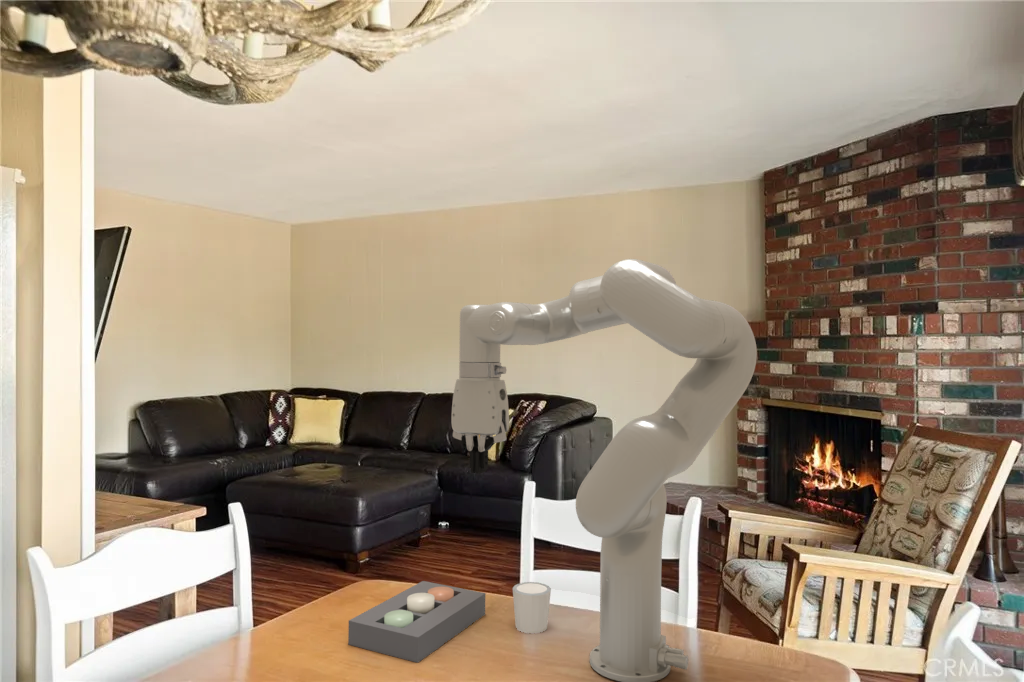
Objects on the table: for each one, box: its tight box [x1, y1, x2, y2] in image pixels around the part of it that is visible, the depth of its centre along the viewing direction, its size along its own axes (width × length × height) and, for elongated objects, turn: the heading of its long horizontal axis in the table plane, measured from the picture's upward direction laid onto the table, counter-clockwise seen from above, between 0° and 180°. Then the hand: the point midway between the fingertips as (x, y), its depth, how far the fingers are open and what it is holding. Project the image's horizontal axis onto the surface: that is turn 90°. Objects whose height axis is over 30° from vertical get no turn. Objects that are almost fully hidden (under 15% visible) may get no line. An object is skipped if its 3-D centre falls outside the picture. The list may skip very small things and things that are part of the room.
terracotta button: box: [428, 587, 454, 602], centre depth 127 cm, size 5×5×3 cm
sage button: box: [384, 610, 413, 628], centre depth 116 cm, size 5×5×3 cm
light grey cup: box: [512, 581, 552, 635], centre depth 123 cm, size 7×7×7 cm
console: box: [347, 580, 486, 664], centre depth 121 cm, size 14×22×4 cm, turn 153°
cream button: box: [407, 593, 434, 614], centre depth 121 cm, size 5×5×3 cm
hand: (478, 472), depth 126 cm, fingers closed
